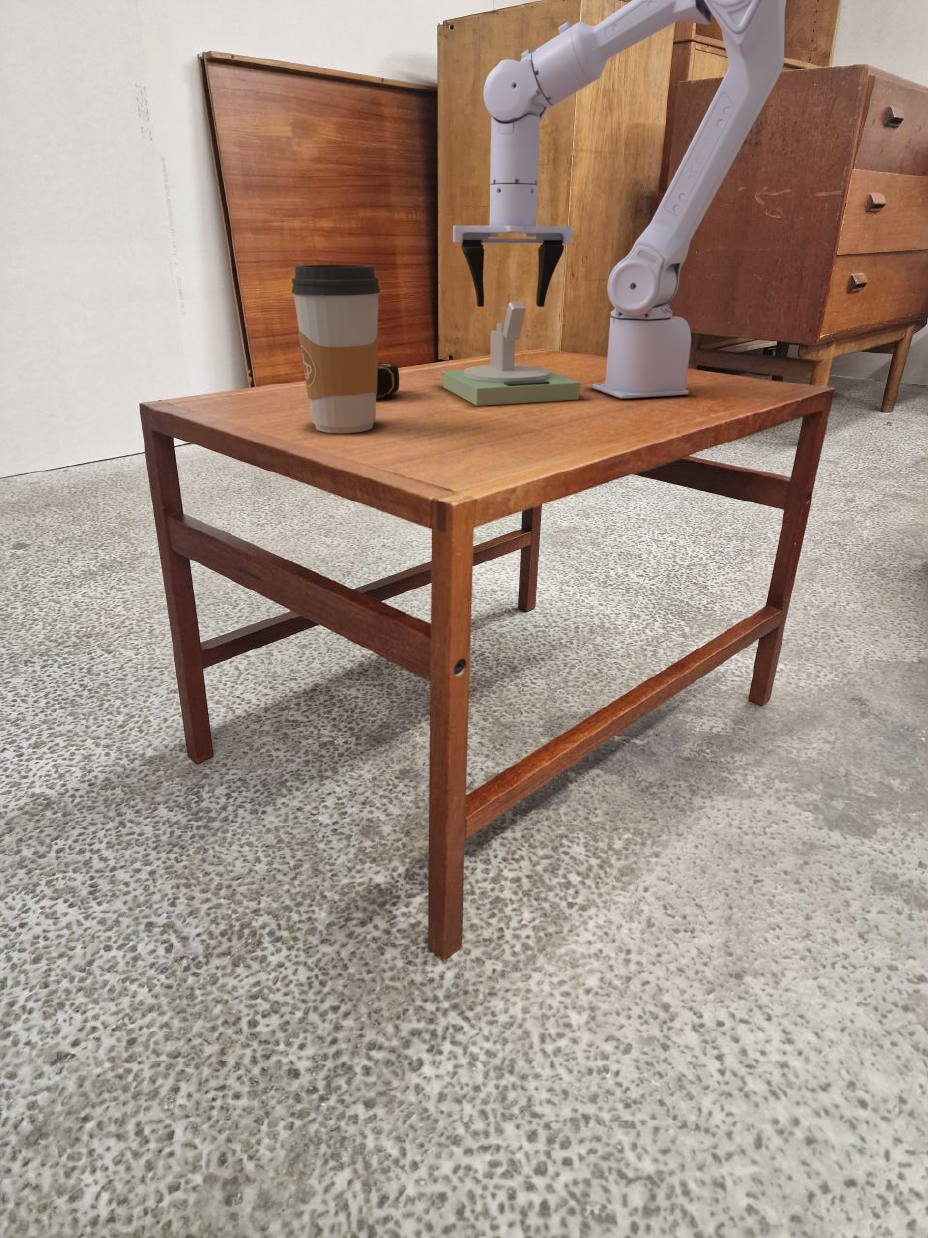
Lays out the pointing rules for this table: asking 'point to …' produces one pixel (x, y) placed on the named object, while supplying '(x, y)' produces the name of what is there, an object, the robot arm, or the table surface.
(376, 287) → the coffee cup
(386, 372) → the tape measure
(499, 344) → the lighter
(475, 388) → the scale
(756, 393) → the table surface
